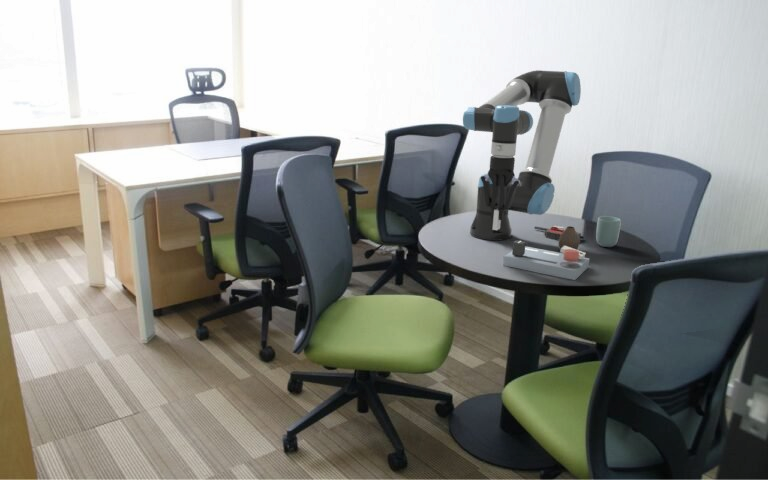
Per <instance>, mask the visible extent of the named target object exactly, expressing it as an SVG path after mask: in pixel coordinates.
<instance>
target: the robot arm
mask: <svg viewBox="0 0 768 480" xmlns="http://www.w3.org/2000/svg"><path fill="white" fill-rule="evenodd" d="M581 85H582V84H581V79H580V77H579V74H577V72H572V71H566V70H565V71H557V70H556V71H554V70H539V69H538V70H531V71H527V72H526V73H521V74H520V75H518V76H516V77H514V78H513V79H511V80H510V81H508V83H507V84H506V86H505V88H503V89H502V90H501V91H499V92H497V94H496V95H494V96H493V97H491V98H490V99H489V100H487V101H486V102H484V103H483V104H482V105H481V106H479V107H476V106H473V107H472V106H471V107H469V106H468V107H467V108H465V110H464V112H463V115H462V125H463V128H465V130H469V131H474V132H485V133H492V135H491V136H492V139H491V147H490V148H491V149H490V154H491V156H490V158H489V169H488V171H487V173H484V174H482V175H480V176H479V179H478V185H477V195H476V196H477V198H476V202H477V203H476V213H475V216H474V219H473V221H472V223H471V226H470V229H469V230H470V232H469V234H470V235H471V236H472V237H475V238H478V239H481V240H482V239H483V240H487V241H488V240H489V241H503V240H507V239H511V237H512V226H511V223H510V219H509V211H511V212H518V213H523V214H528V215H535V216H537V215H538V216H541V215H544V214H545V213H546V212H547V211H548V210H549V208H550V207H551V205H552V203H553V200H554V197H555V195H554V194H555V186H554V184H553V183H552V181H553V179H552V177H550V171H551V168H552V164H553V162H554V157H555V153H556V149H557V146H558V143H559V139H560V137H561V132H562V128H563V124H564V120H565V117H566V115H567V114H569V113H570V112H572V111H571V110H572V108H573V106H574V107H575V106H578V104H579V103H580V100H581V93H582V92H581V89H582V88H581V87H582V86H581ZM526 103H538V106H539V108H540V109H541V110H540V111H541V112H540V114H539V116H538V117H539V118H538V122H537V125H536V128H535V132H534V135H533V139H532V142H531V146H530V150H529V154H528V157H527V161H526V165H525V169H523V170H521V171H520V172H519V174H518V177H517V178H516V176H515V173H514V171H515V161H516V159H515V157H514V156H516V150H517V149H516V148H517V137H518V136H519V135H521V136H522V135H524V134H526V133H528V132H530V130H531V129H532V128H533V126H534V119H533V116H532V114H531V113H530V112H529V111H527V110H523V109H520V108H519V106H518V105H524V104H526Z"/></svg>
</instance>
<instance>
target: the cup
mask: <svg viewBox="0 0 768 480" xmlns="http://www.w3.org/2000/svg"><path fill="white" fill-rule="evenodd" d="M621 224H622V220H621V219H620V218H619V217H615V216H609V215H601V216H598V218H597V224H596V233H595V238H596V243H597V244H598V245H599V246H600V247H605V248H613V247H614V246H616V245H617V243H618V240H619V235H620V231H621Z"/></svg>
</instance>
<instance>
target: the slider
mask: <svg viewBox="0 0 768 480" xmlns="http://www.w3.org/2000/svg"><path fill="white" fill-rule="evenodd" d="M526 243H527V242H526V241H523V240H514V241H513V243H512V250H511V251H512V254H513V255H518V256H522V255H524V254H525V246H526Z"/></svg>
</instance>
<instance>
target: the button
mask: <svg viewBox="0 0 768 480" xmlns="http://www.w3.org/2000/svg"><path fill="white" fill-rule="evenodd" d="M577 250H578V249H577ZM577 250H573V249H566V250H564V253H563V254H564V257H563V259H564V260H566V261H570V262H576V261H578V257H579V251H580V250H579V251H577Z"/></svg>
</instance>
